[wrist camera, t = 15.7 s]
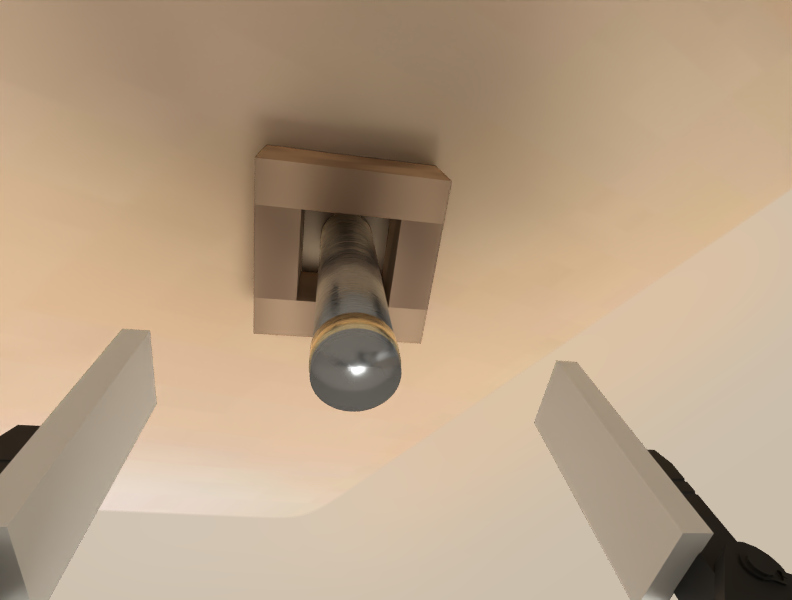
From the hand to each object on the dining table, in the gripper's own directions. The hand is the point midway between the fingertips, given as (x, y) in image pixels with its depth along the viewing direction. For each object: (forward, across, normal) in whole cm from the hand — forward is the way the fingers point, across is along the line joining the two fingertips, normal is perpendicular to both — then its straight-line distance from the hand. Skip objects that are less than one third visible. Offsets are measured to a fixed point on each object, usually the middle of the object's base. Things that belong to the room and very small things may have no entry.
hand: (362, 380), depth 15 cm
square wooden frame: (+14, 0, 0) cm, 14 cm away
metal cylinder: (+14, 0, 0) cm, 14 cm away
